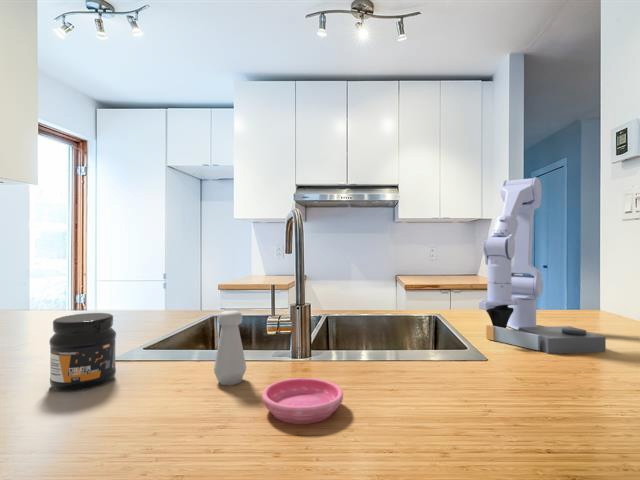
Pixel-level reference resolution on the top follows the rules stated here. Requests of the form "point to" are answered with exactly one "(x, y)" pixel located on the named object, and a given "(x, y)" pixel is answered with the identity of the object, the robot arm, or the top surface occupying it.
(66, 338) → the supplement container
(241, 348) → the salt shaker
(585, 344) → the grey flat block
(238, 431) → the top surface
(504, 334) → the side door
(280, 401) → the pink shallow bowl
